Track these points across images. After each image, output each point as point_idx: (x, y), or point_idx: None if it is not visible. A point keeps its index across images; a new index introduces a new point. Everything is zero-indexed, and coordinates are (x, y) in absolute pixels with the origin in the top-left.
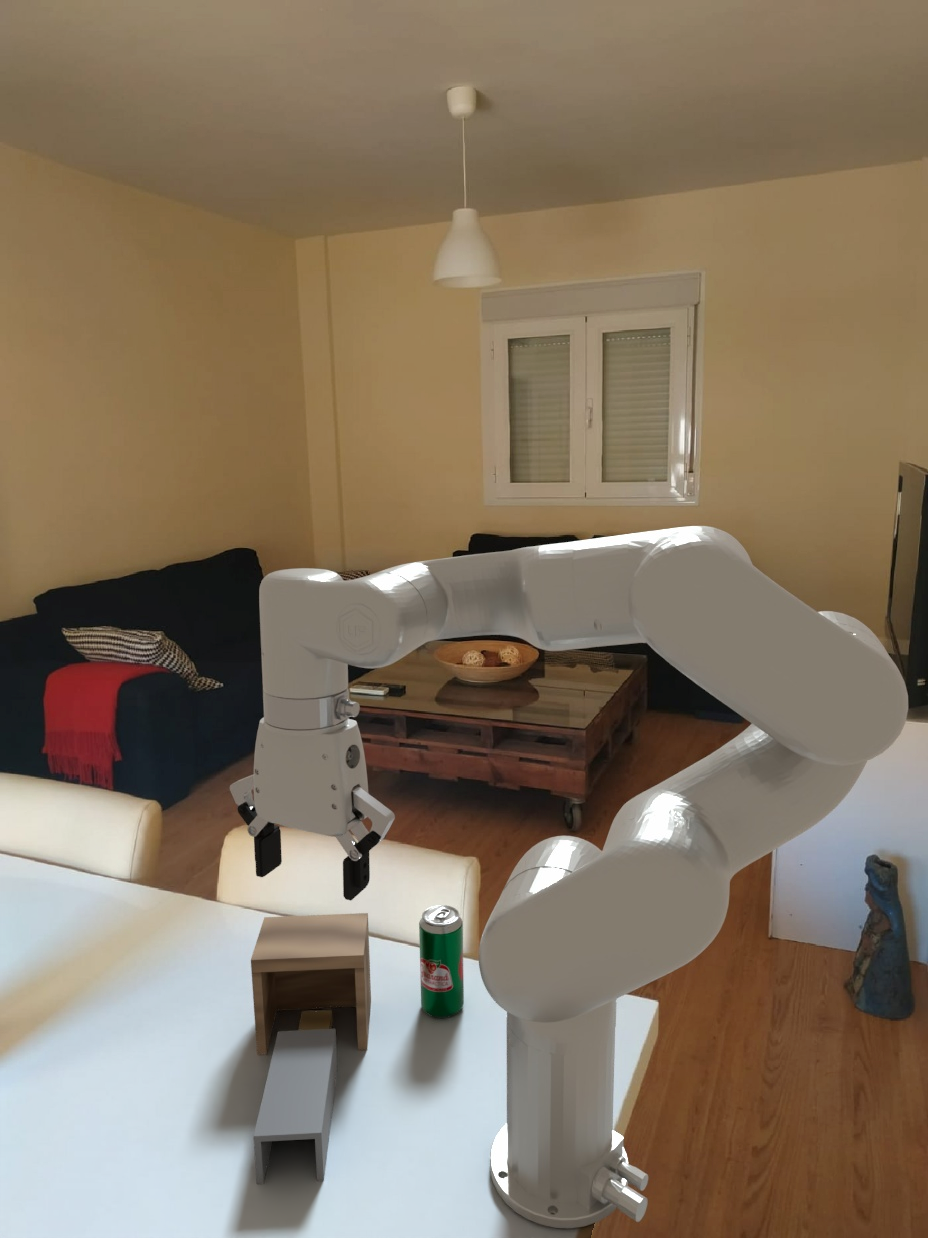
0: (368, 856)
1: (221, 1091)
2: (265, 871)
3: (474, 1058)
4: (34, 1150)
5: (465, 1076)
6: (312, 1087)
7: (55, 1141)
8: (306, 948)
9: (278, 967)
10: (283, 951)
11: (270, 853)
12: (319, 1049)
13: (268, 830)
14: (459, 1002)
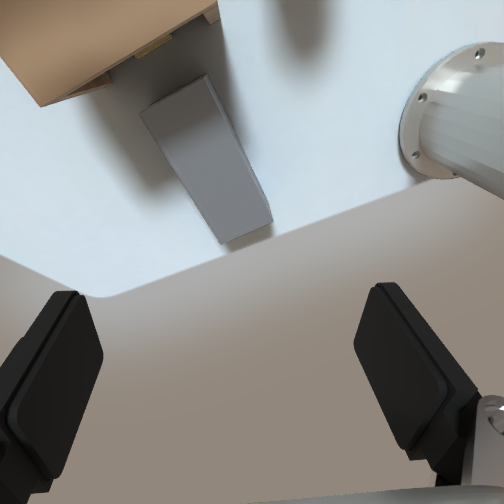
0: (475, 394)
1: (115, 152)
2: (97, 359)
3: None
4: (41, 260)
5: (355, 17)
6: (235, 179)
7: (45, 249)
8: (98, 25)
9: (85, 82)
10: (67, 56)
11: (73, 382)
12: (208, 124)
13: (19, 477)
14: None
